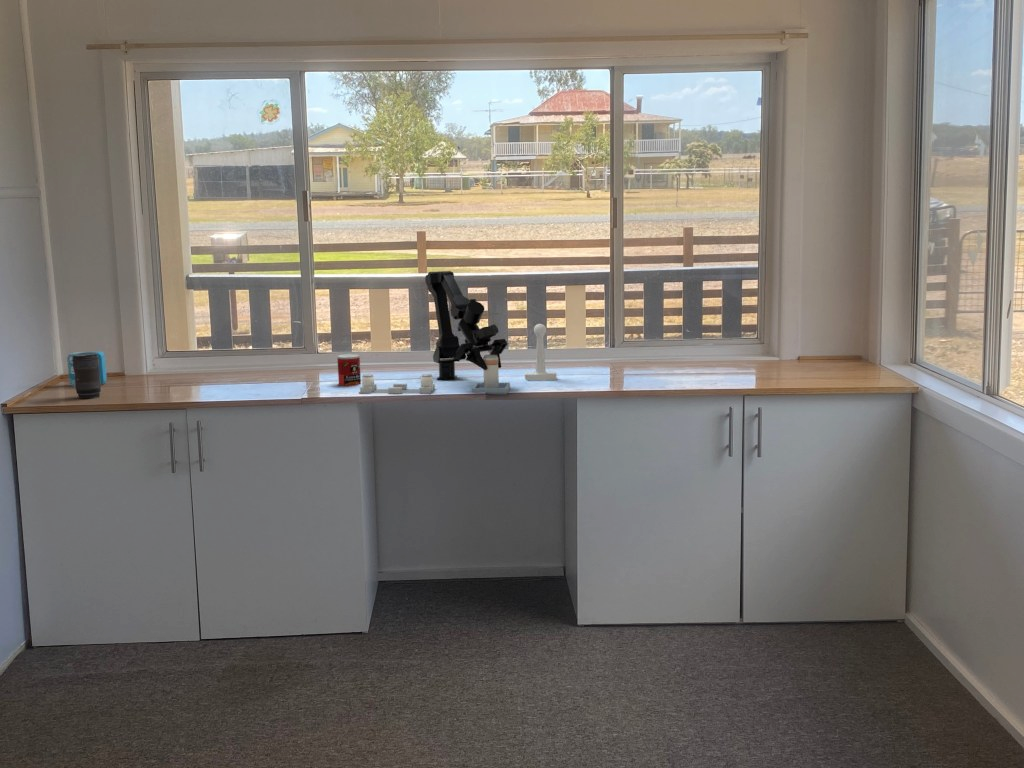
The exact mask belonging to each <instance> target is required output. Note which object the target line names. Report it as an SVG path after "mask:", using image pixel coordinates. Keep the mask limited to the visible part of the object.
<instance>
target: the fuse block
mask: <svg viewBox="0 0 1024 768" xmlns="http://www.w3.org/2000/svg"><path fill="white" fill-rule="evenodd" d="M377 386H378V385H377V383H374V388H375V391H374V392H372V387H362V386H361V387H360V388H359V392H358V394H389V395H390V394H396V395H397V394H400V395H401V394H434V393H435V392H436V390H438V389H436V388H435V387H436V385H435V383H433V392H431V387H421V386H420V387H419V388H409V389H408V383H393V384H392V387H388V388H380V389H379V388H377Z"/></svg>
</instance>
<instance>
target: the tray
mask: <svg viewBox="0 0 1024 768" xmlns="http://www.w3.org/2000/svg"><path fill="white" fill-rule="evenodd" d="M479 387H483V388H479ZM509 389H510V390H511V382H499V388H484V382H475V384H474V385H473V387H472V388H471V392H472V393H485V394H484V395H486V396H487V395H489V396H491V395H498V396H499V395H501V396H502V395H504V396H505V395H509V392H510V390H509ZM508 391H509V392H508Z"/></svg>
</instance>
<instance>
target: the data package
mask: <svg viewBox="0 0 1024 768" xmlns="http://www.w3.org/2000/svg"><path fill="white" fill-rule="evenodd" d="M86 352H87V351H78V352H75V351H74V352H72V353H70V354H68V355H67V357H66V360H67V361H66V362H67V371H68V379H69V380H68V381H69V382H68V383H69V385H70V386H72V387H74V386H75V373H74V369H73V360H72V358H73V355H74V354H78V353H86ZM94 352H95V353H97V356H98V360H99V376H100V384H101V386H102V385H103V384H104V385H105V383H106V382H107V380H108V378H107V367H106V357H105V353H104V352H103V351H100V350H99V351H94Z"/></svg>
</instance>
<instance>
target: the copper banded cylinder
mask: <svg viewBox="0 0 1024 768" xmlns="http://www.w3.org/2000/svg"><path fill="white" fill-rule="evenodd" d="M482 358H483V360H484V362H485V364H486V366H487V370H484V369H482V370H483V383H484V386H483V388H499V383H500V382H499V381H500V380H499V379H500V378H499V377H500V376H499V368H498V364H499V362H498V357H497V355H490V354H484V355H483V357H482Z"/></svg>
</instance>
